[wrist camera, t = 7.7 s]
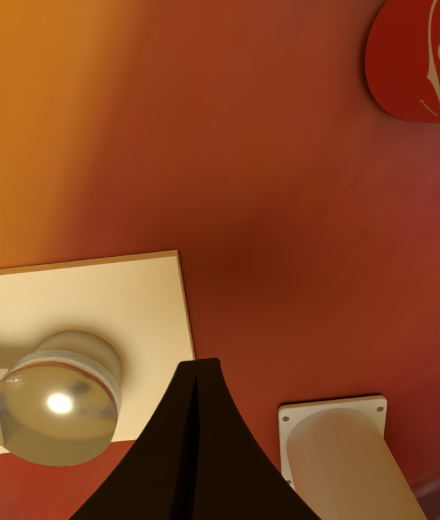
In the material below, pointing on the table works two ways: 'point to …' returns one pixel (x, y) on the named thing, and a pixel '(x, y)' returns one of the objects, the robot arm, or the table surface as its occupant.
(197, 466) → the robot arm
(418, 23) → the beverage can
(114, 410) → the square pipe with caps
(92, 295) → the base
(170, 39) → the table surface
